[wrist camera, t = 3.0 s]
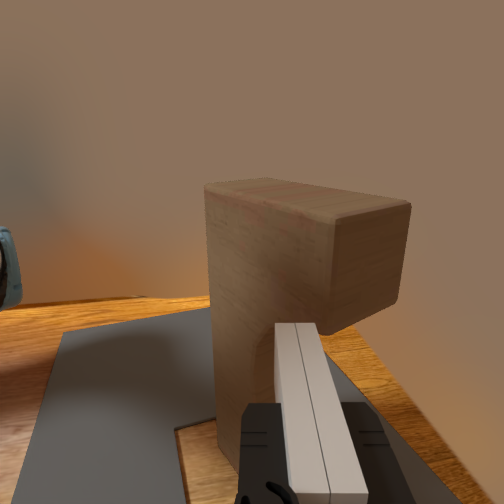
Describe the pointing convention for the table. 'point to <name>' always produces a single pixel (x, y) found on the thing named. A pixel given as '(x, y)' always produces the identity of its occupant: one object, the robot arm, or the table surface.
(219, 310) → the decorative block
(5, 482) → the table surface
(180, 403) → the mat
